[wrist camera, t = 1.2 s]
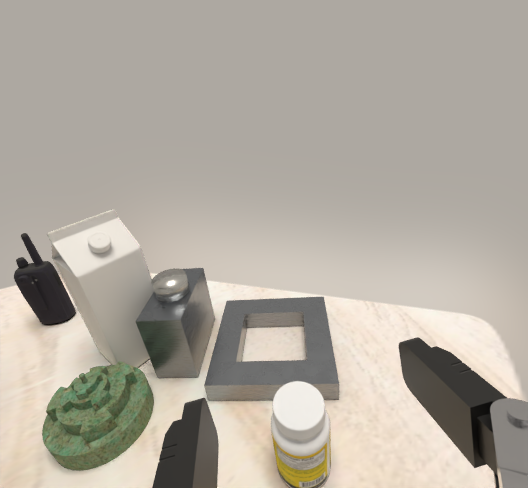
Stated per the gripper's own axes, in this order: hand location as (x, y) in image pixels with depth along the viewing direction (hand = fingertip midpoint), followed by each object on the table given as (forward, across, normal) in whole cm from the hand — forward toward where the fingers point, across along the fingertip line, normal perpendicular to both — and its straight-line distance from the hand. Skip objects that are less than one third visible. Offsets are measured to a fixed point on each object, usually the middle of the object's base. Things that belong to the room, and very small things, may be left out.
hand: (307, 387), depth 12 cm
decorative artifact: (+19, +20, +13) cm, 31 cm away
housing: (+25, +4, +13) cm, 28 cm away
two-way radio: (+38, +33, +7) cm, 51 cm away
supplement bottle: (+11, +1, +17) cm, 20 cm away
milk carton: (+29, +19, +11) cm, 36 cm away
